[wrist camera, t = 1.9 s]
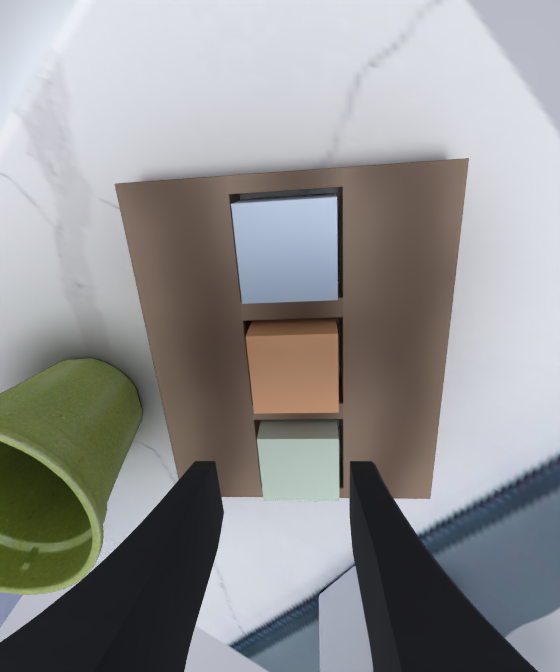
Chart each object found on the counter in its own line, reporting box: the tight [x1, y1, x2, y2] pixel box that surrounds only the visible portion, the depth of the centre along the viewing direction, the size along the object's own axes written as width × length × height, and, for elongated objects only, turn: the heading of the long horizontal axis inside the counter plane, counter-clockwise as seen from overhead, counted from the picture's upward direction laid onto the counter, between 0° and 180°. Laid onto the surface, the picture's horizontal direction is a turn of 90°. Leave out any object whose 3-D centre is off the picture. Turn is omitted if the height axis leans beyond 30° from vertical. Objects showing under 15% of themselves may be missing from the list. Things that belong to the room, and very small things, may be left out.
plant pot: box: [0, 358, 143, 595], centre depth 19 cm, size 9×9×9 cm
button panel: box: [115, 158, 469, 499], centre depth 20 cm, size 14×17×2 cm
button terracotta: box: [246, 317, 339, 414], centre depth 18 cm, size 4×4×2 cm
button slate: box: [231, 194, 338, 304], centre depth 16 cm, size 4×4×2 cm
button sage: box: [257, 419, 339, 501], centre depth 21 cm, size 4×4×2 cm
